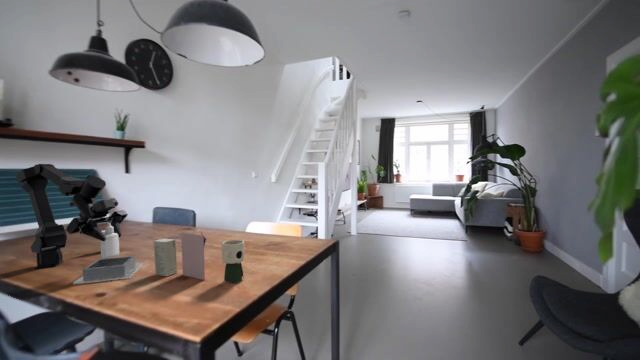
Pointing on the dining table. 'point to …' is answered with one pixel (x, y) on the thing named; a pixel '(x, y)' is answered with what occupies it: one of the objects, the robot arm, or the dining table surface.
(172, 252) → the skincare box
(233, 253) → the character mug
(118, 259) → the flat grey tray
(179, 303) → the dining table surface
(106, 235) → the eye dropper bottle
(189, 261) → the greeting card
